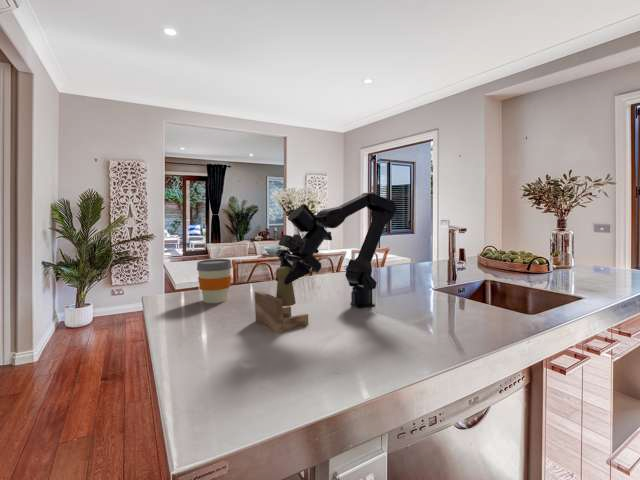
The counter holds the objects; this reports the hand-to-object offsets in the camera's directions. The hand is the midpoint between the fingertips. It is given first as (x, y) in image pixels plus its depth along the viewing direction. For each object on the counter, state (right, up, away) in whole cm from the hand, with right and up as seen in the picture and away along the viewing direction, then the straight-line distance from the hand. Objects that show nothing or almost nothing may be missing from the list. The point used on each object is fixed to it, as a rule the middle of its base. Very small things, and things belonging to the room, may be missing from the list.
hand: (280, 282), depth 101 cm
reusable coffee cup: (-28, -11, +29) cm, 42 cm away
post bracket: (+1, -12, +2) cm, 12 cm away
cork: (+1, -7, +1) cm, 7 cm away
